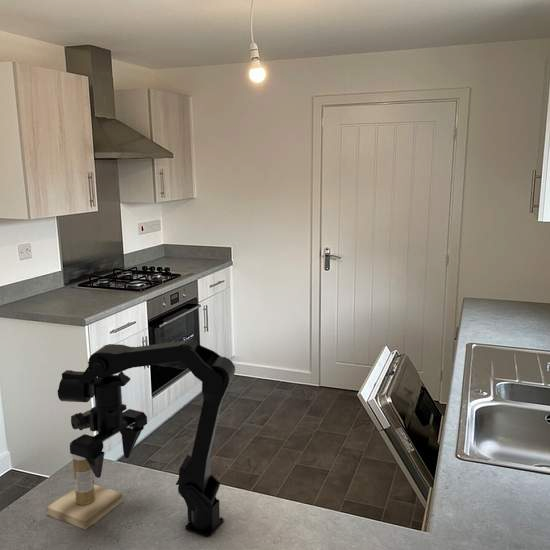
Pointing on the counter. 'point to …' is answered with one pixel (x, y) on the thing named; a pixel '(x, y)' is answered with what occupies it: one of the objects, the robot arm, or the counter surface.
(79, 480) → the sprinkles bottle
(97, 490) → the tan block
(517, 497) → the counter surface
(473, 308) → the counter surface
